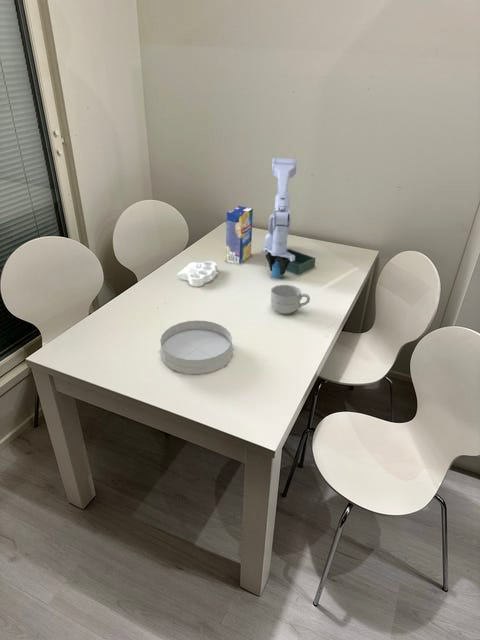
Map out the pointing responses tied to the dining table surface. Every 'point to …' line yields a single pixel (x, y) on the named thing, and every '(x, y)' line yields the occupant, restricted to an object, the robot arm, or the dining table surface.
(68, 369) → the dining table surface
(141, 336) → the dining table surface
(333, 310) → the dining table surface
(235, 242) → the beverage box
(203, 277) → the white scalloped tray
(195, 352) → the dish
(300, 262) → the bin
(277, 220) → the robot arm
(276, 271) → the bottle
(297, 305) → the teacup
